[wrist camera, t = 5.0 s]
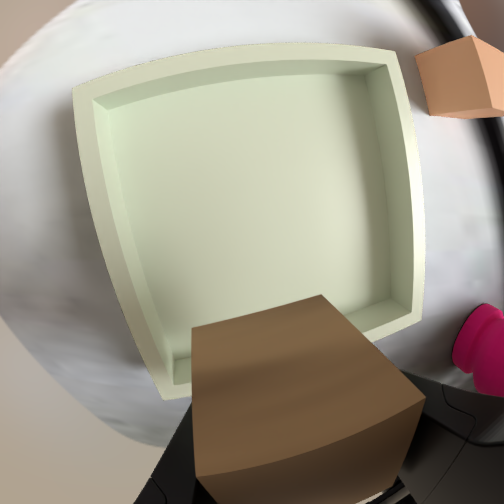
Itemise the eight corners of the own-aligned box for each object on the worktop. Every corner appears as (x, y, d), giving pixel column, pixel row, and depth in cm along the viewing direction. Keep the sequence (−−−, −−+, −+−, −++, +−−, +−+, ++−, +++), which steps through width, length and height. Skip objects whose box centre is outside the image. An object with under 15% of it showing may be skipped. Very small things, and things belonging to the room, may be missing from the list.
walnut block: (328, 386, 10) (392, 486, 5) (224, 416, 9) (248, 535, 4) (321, 293, 9) (425, 396, 4) (191, 327, 8) (196, 476, 3)
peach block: (464, 119, 14) (520, 115, 9) (429, 115, 13) (492, 107, 8) (451, 65, 12) (503, 53, 8) (414, 56, 12) (471, 35, 7)
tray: (394, 302, 16) (421, 320, 13) (166, 368, 14) (163, 400, 11) (366, 66, 12) (395, 51, 9) (93, 103, 10) (71, 88, 8)
